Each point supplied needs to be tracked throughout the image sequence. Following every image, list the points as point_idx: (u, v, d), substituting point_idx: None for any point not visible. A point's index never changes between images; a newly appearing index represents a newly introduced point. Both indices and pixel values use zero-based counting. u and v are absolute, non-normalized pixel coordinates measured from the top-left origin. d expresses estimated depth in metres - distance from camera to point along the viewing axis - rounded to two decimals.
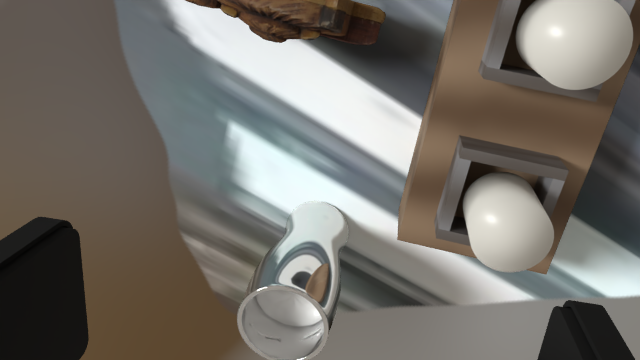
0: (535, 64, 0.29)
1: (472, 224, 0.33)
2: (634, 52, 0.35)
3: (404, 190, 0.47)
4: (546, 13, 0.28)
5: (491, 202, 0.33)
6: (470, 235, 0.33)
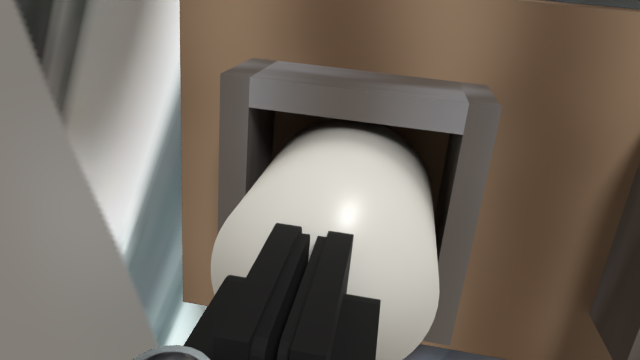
0: None
1: (343, 179, 0.11)
2: None
3: None
4: None
5: (417, 220, 0.11)
6: (305, 179, 0.11)
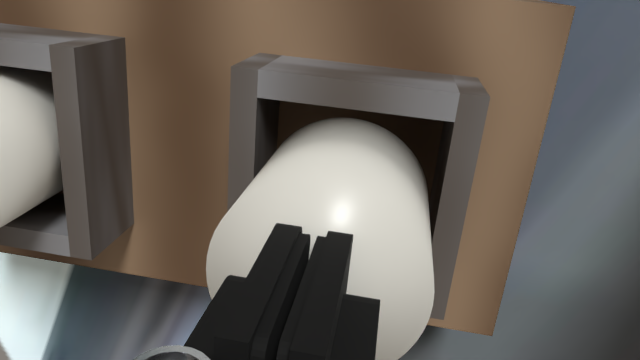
0: (252, 192, 0.11)
1: None
2: None
3: None
4: (382, 197, 0.11)
5: None
6: None
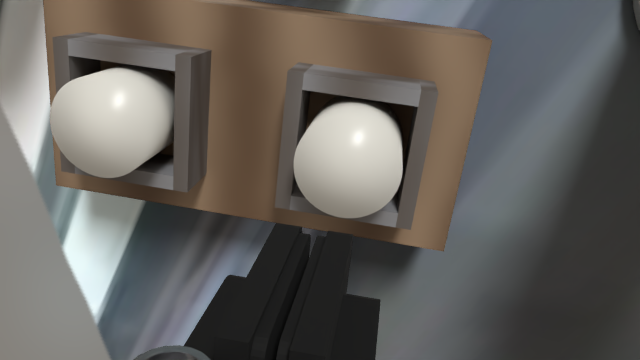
0: (319, 122, 0.24)
1: (102, 77, 0.24)
2: (335, 231, 0.31)
3: None
4: (379, 124, 0.23)
5: (138, 97, 0.25)
6: (87, 77, 0.24)
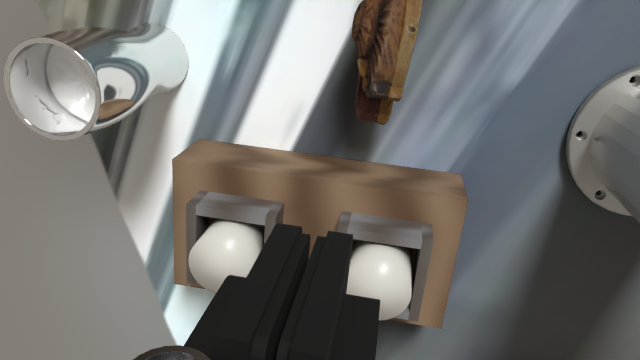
0: (359, 264, 0.38)
1: (223, 236, 0.39)
2: None
3: (219, 144, 0.48)
4: (396, 266, 0.38)
5: (245, 247, 0.40)
6: (213, 236, 0.39)
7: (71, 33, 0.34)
